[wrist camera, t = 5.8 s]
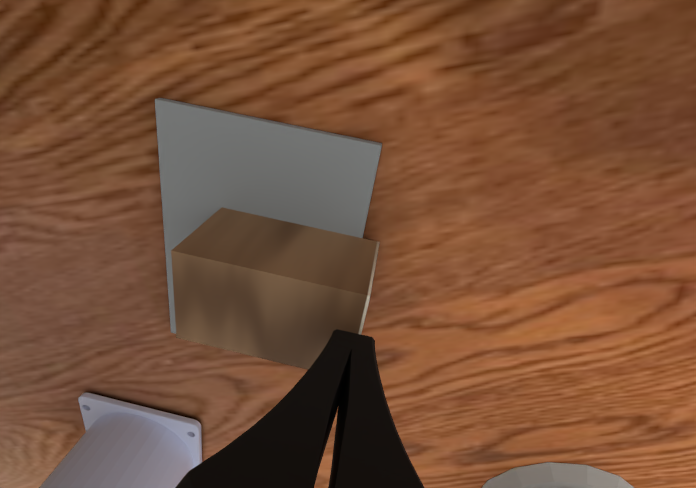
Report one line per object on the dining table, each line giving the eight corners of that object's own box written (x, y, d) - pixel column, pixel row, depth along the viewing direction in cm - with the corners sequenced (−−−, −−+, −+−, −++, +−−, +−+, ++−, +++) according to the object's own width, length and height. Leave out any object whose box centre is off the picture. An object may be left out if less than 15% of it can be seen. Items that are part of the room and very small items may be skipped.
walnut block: (350, 379, 15) (176, 337, 15) (362, 315, 18) (220, 282, 19) (370, 295, 13) (171, 250, 13) (379, 242, 16) (221, 207, 17)
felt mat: (335, 365, 21) (334, 371, 20) (174, 327, 21) (170, 332, 21) (382, 143, 15) (381, 145, 15) (160, 97, 15) (154, 99, 15)
